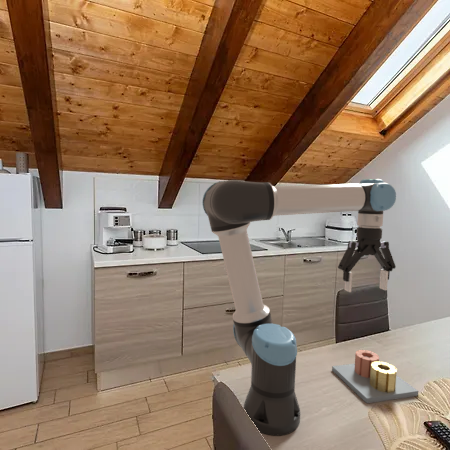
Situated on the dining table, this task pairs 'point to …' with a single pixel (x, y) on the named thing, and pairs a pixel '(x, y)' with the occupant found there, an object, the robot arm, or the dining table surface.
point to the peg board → (366, 390)
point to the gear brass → (383, 377)
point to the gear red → (364, 362)
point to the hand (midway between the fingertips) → (365, 290)
